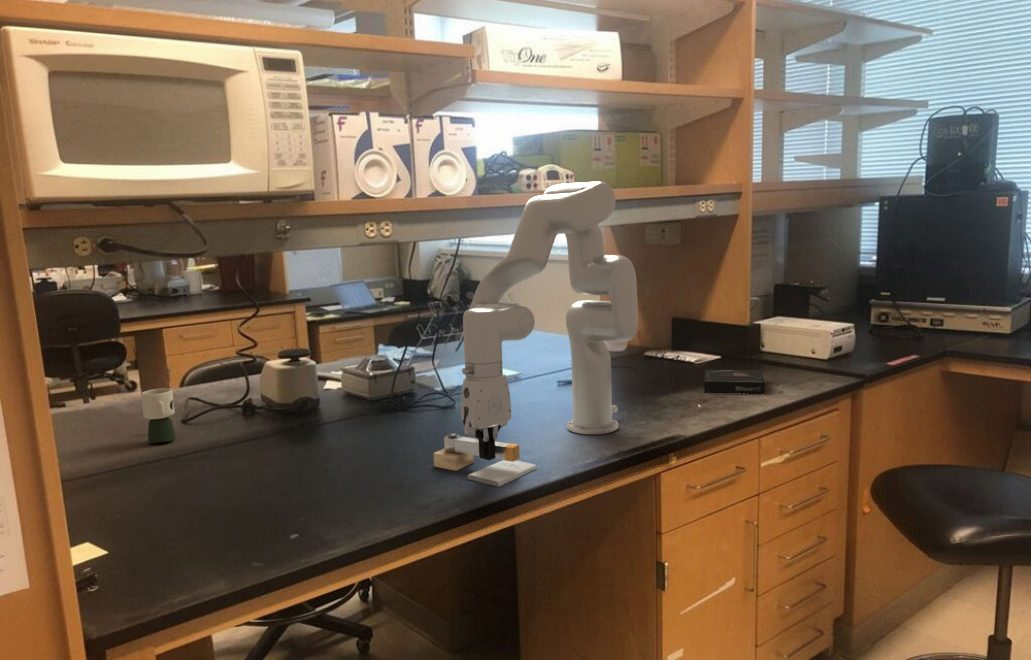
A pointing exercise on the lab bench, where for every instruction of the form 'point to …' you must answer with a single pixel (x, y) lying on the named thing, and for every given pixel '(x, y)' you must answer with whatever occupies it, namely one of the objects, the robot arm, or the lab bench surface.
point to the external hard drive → (501, 472)
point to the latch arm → (472, 447)
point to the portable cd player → (734, 381)
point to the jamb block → (452, 460)
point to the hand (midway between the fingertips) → (487, 458)
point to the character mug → (159, 414)
